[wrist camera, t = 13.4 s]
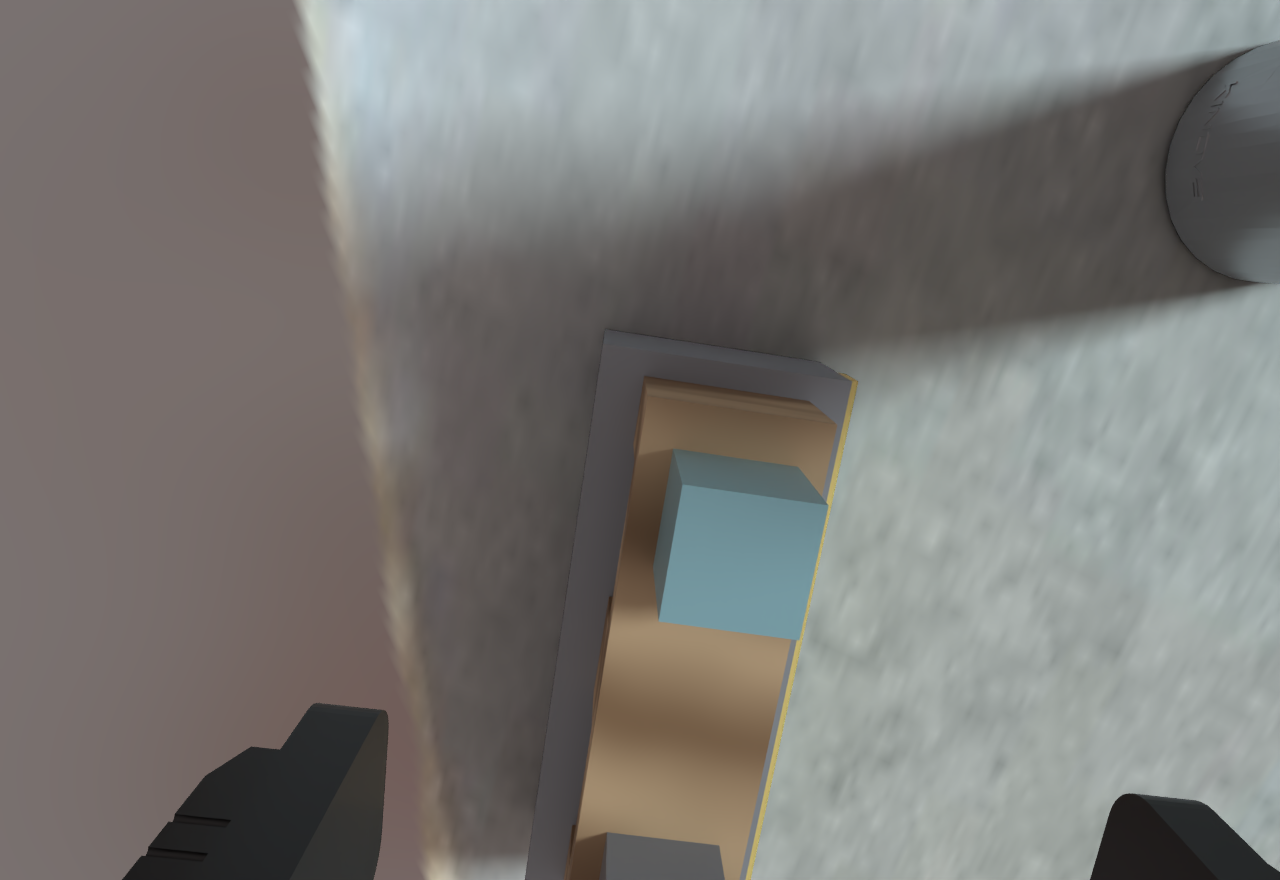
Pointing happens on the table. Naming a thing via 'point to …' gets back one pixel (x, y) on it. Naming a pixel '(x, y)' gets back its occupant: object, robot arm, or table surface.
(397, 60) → the table surface
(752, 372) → the dock
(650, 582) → the board
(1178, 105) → the table surface
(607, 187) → the table surface
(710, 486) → the block
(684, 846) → the block
